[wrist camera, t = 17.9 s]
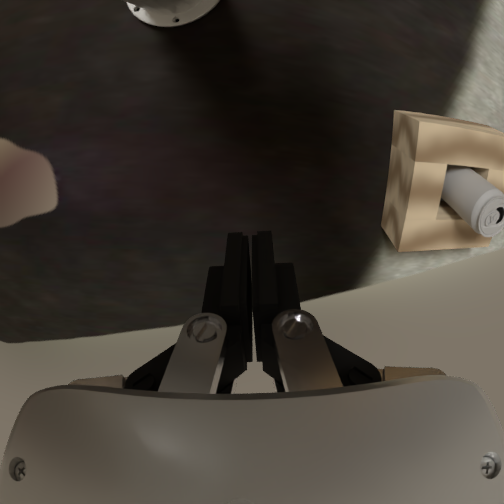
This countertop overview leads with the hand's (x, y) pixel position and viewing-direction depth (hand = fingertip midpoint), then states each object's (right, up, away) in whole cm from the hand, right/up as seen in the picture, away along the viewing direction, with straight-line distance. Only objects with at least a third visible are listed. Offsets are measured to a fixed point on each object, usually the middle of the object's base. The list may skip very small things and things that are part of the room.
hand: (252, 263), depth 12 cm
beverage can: (+29, +12, +25) cm, 40 cm away
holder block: (+28, +12, +27) cm, 41 cm away
